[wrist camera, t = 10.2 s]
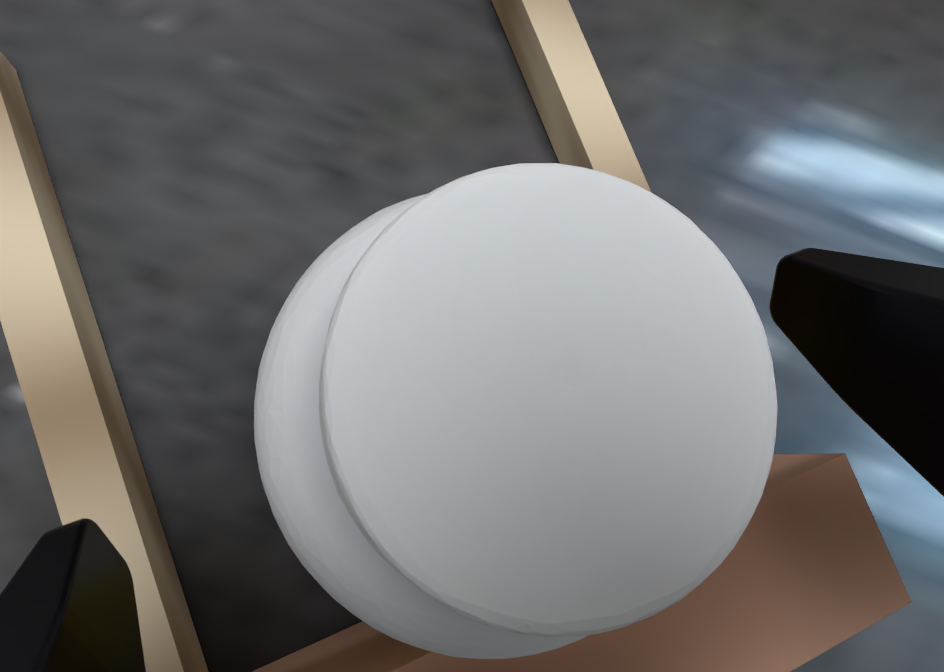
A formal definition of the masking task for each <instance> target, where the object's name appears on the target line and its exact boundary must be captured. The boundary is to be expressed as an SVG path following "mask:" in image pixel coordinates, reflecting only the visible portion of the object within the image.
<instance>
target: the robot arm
mask: <svg viewBox="0 0 944 672" xmlns="http://www.w3.org/2000/svg"><path fill="white" fill-rule="evenodd" d="M769 308H770V314H771V317H772V319H773V320H774V322H775V323H776V325H777V326H778V327H779V328H780V329H781V330H782V332H783V333H784V334H785V335H786V336H787V337H788V338H789V340H790V341H791V342H792V343H793V344H794V345H795V346H796V348H797V349H798V350H799V351H800V352H801V353H802V355H803V356H804V357H805V358H806V359H807V360H808V361H809V363H810V364H811V365H812V366H813V367H814V368H815V369H816V371H817V372H818V373H819V374H820V375H821V376H822V377H823V379H824V380H825V381H826V382H827V383H828V384H829V385H830V387H831V388H832V389H833V390H834V391H835V392H836V393H837V394H838V395H839V397H840V398H841V399H842V400H843V401H844V402H845V403H846V404H847V405H848V406H849V407H850V408H851V409H852V410H853V411H854V412H855V413H856V414H857V415H858V416H859V417H860V418H861V419H863V420H864V421H865V422H866V423H867V424H868V425H869V426H870V427H871V428H872V429H873V430H874V431H875V432H876V433H877V434H878V435H879V436H880V437H881V438H883V439H884V440H885V441H886V442H887V443H888V444H889V445H890V446H891V447H892V448H893V449H894V450H895V451H896V452H897V453H898V454H899V455H900V456H902V457H903V458H904V459H905V460H906V461H907V462H908V463H909V464H910V465H911V466H912V467H913V468H914V469H915V470H916V471H917V472H918V473H919V474H920V475H922V476H923V477H924V478H925V479H926V480H927V481H928V482H929V483H930V484H931V485H932V486H933V487H934V488H935V489H936V490H937V491H938V492H939V493H940V494H942V495H943V496H944V268H939V267H932V266H926V265H919V264H913V263H906V262H900V261H894V260H887V259H881V258H874V257H868V256H861V255H855V254H848V253H842V252H835V251H829V250H822V249H816V248H806V249H802V250H800V251H797V252H794V253H791V254H789V255H786V256H784V257H783V258H782V259H781V260H780V261H779V263H778V265H777V268H776V273H775V278H774V283H773V289H772V294H771V299H770V306H769ZM0 672H146V669H145V662H144V655H143V648H142V640H141V633H140V626H139V619H138V612H137V605H136V598H135V591H134V584H133V579H132V575H131V572H130V569H129V567H128V565H127V563H126V561H125V560H124V558H123V557H122V556H121V555H120V553H119V552H118V551H117V549H116V548H115V547H114V545H113V544H112V543H111V542H110V540H109V539H108V538H107V536H106V535H105V534H104V532H103V531H102V530H101V529H100V527H99V526H98V525H97V524H96V523H95V522H94V521H92V520H91V519H87V518H82V519H79V520H76V521H73V522H71V523H68V524H65V525H63V526H60V527H57V528H55V529H52V530H50V531H48V532H46V533H45V534H44V535H43V536H42V537H41V538H40V539H39V541H38V542H37V544H36V545H35V546H34V548H33V549H32V551H31V552H30V553H29V555H28V556H27V558H26V559H25V561H24V562H23V563H22V565H21V566H20V568H19V569H18V570H17V572H16V573H15V575H14V576H13V578H12V579H11V580H10V582H9V583H8V585H7V586H6V587H5V589H4V590H3V592H2V593H1V595H0Z"/></svg>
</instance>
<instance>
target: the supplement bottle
mask: <svg viewBox="0 0 944 672" xmlns="http://www.w3.org/2000/svg"><path fill="white" fill-rule="evenodd" d="M777 408H778V406H777V395H776V386H775V378H774V369H773V361H772V357H771V353H770V349H769V346H768V342H767V338H766V334H765V330H764V327H763V325H762V322H761V320H760V318H759V315H758V313H757V311H756V308H755V306H754V304H753V301H752V299H751V297H750V295H749V294H748V292H747V290H746V288H745V287H744V285H743V283H742V281H741V280H740V278H739V276H738V275H737V273H736V272H735V270H734V269H733V268H732V266H731V265H730V263H729V262H728V260H727V259H726V257H725V256H724V255H723V254H722V252H721V251H720V250H719V249H718V248H717V246H716V245H715V244H714V243H713V242H712V241H711V240H710V239H709V238H708V237H707V236H706V235H705V234H704V233H703V232H702V231H701V230H700V229H699V228H698V227H697V226H696V225H695V224H694V223H693V222H692V221H691V220H690V219H689V218H688V217H686V216H685V215H684V214H682V213H681V212H680V211H678V210H677V209H676V208H674V207H673V206H671V205H670V204H668V203H667V202H666V201H664V200H663V199H661V198H659V197H658V196H656V195H654V194H652V193H651V192H649V191H647V190H645V189H643V188H642V187H640V186H638V185H635V184H633V183H631V182H629V181H626V180H624V179H621V178H618V177H615V176H613V175H610V174H607V173H604V172H600V171H596V170H592V169H588V168H584V167H578V166H571V165H565V164H559V163H521V164H514V165H507V166H501V167H495V168H490V169H487V170H483V171H480V172H476V173H473V174H470V175H467V176H464V177H461V178H459V179H456V180H454V181H452V182H450V183H448V184H446V185H444V186H441V187H439V188H437V189H435V190H434V191H432V192H430V193H429V194H425V195H421V196H417V197H413V198H410V199H407V200H405V201H402V202H399V203H397V204H394V205H392V206H389V207H387V208H384V209H382V210H380V211H378V212H376V213H375V214H373V215H371V216H369V217H368V218H366V219H365V220H363V221H362V222H360V223H359V224H357V225H356V226H354V227H353V228H351V229H350V230H349V231H347V232H346V233H345V234H343V235H342V236H341V237H339V238H338V239H337V240H336V241H335V242H334V243H332V244H331V245H330V246H329V247H328V248H327V249H326V250H325V251H324V252H323V253H322V254H321V255H320V256H319V257H318V258H317V259H316V260H315V261H314V262H313V263H312V264H311V266H310V267H309V268H308V269H307V270H306V272H305V273H304V274H303V275H302V277H301V278H300V279H299V281H298V282H297V283H296V285H295V286H294V288H293V290H292V291H291V293H290V294H289V296H288V298H287V299H286V301H285V303H284V305H283V307H282V308H281V310H280V312H279V314H278V316H277V318H276V320H275V322H274V325H273V327H272V329H271V331H270V334H269V337H268V341H267V344H266V347H265V349H264V352H263V355H262V359H261V363H260V366H259V372H258V378H257V385H256V393H255V400H254V440H255V447H256V453H257V460H258V466H259V471H260V476H261V480H262V483H263V487H264V490H265V493H266V496H267V498H268V501H269V504H270V507H271V510H272V513H273V515H274V517H275V519H276V521H277V524H278V526H279V527H280V529H281V531H282V533H283V535H284V537H285V539H286V541H287V543H288V545H289V546H290V548H291V549H292V551H293V552H294V553H295V555H296V556H297V558H298V559H299V561H300V562H301V563H302V565H303V566H304V568H305V569H306V570H307V571H308V572H309V573H310V574H311V575H312V576H313V578H314V579H315V580H316V581H317V582H318V583H319V584H320V585H321V586H322V588H323V589H324V590H325V591H326V592H327V593H328V594H329V595H330V596H332V597H333V598H334V599H335V600H336V601H337V602H338V603H340V604H341V605H342V606H343V607H344V608H346V609H347V610H348V611H349V612H351V613H352V614H353V615H355V616H356V617H358V618H359V619H360V620H362V621H363V622H365V623H366V624H368V625H369V626H371V627H372V628H374V629H376V630H378V631H380V632H382V633H384V634H386V635H388V636H390V637H391V638H393V639H396V640H398V641H401V642H403V643H406V644H408V645H411V646H414V647H417V648H420V649H424V650H427V651H431V652H435V653H439V654H443V655H447V656H452V657H460V658H472V659H506V658H515V657H523V656H529V655H535V654H538V653H542V652H546V651H550V650H554V649H557V648H560V647H562V646H565V645H568V644H570V643H573V642H576V641H578V640H581V639H583V638H585V637H586V636H588V635H593V634H600V633H603V632H607V631H611V630H615V629H619V628H623V627H625V626H628V625H631V624H633V623H636V622H639V621H641V620H644V619H646V618H648V617H650V616H653V615H655V614H657V613H658V612H660V611H662V610H664V609H666V608H667V607H669V606H671V605H673V604H675V603H676V602H678V601H680V600H681V599H683V598H684V597H685V596H686V595H688V594H689V593H690V592H691V591H693V590H694V589H695V588H696V587H697V586H699V585H700V584H701V583H702V582H703V581H704V580H705V579H706V578H707V577H708V576H709V575H710V574H711V573H712V572H713V571H714V570H715V569H716V568H717V567H718V566H719V565H720V564H721V563H722V562H723V561H724V559H725V558H726V557H727V556H728V554H729V553H730V552H731V551H732V549H733V548H734V547H735V545H736V544H737V542H738V540H739V539H740V537H741V535H742V534H743V532H744V530H745V529H746V527H747V525H748V524H749V522H750V520H751V518H752V516H753V514H754V512H755V509H756V507H757V505H758V503H759V501H760V499H761V497H762V494H763V491H764V488H765V484H766V481H767V478H768V475H769V471H770V467H771V464H772V459H773V453H774V446H775V439H776V426H777Z"/></svg>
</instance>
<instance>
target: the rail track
mask: <svg viewBox="0 0 944 672" xmlns="http://www.w3.org/2000/svg"><path fill="white" fill-rule="evenodd" d="M492 3H493V5H494V8H495V10H496V12H497V15H498V17H499V20H500V22H501V24H502V27H503V29H504V32H505V34H506V36H507V39H508V41H509V44H510V46H511V48H512V51H513V53H514V56H515V58H516V60H517V63H518V65H519V67H520V70H521V72H522V75H523V77H524V79H525V82H526V84H527V87H528V89H529V91H530V94H531V96H532V99H533V101H534V103H535V106H536V108H537V111H538V113H539V115H540V118H541V120H542V123H543V125H544V127H545V130H546V132H547V135H548V137H549V139H550V142H551V144H552V147H553V149H554V151H555V154H556V156H557V159H558V161H559V163H560V164H565V165H571V166H578V167H584V168H588V169H592V170H596V171H600V172H604V173H607V174H610V175H613V176H615V177H618V178H621V179H624V180H626V181H629V182H631V183H633V184H635V185H638V186H640V187H642V188H643V189H645V190H647V191H649V192H651V191H650V188H649V186H648V184H647V182H646V179H645V177H644V175H643V172H642V170H641V168H640V165H639V163H638V161H637V158H636V156H635V154H634V151H633V149H632V147H631V145H630V142H629V140H628V138H627V135H626V133H625V131H624V128H623V126H622V124H621V121H620V119H619V117H618V114H617V112H616V110H615V108H614V105H613V103H612V101H611V98H610V96H609V94H608V91H607V89H606V87H605V84H604V82H603V80H602V77H601V75H600V73H599V71H598V68H597V66H596V64H595V61H594V59H593V57H592V54H591V52H590V50H589V47H588V45H587V43H586V40H585V38H584V36H583V34H582V31H581V29H580V27H579V24H578V22H577V20H576V17H575V15H574V13H573V10H572V8H571V6H570V3H569V1H568V0H492ZM0 320H1V324H2V327H3V330H4V334H5V337H6V340H7V344H8V347H9V350H10V353H11V357H12V360H13V363H14V367H15V370H16V373H17V377H18V380H19V383H20V386H21V390H22V393H23V396H24V400H25V403H26V406H27V410H28V413H29V416H30V420H31V423H32V426H33V429H34V433H35V436H36V439H37V443H38V446H39V449H40V453H41V456H42V459H43V463H44V466H45V469H46V472H47V476H48V479H49V482H50V486H51V489H52V492H53V496H54V499H55V502H56V505H57V509H58V512H59V515H60V519H61V522H62V525H65V524H68V523H71V522H73V521H76V520H79V519H82V518H87V519H91V520H92V521H94V522H95V523H96V524H97V525H98V526H99V527H100V529H101V530H102V531H103V532H104V534H105V535H106V536H107V538H108V539H109V540H110V542H111V543H112V544H113V545H114V547H115V548H116V549H117V551H118V552H119V553H120V555H121V556H122V557H123V558H124V560H125V561H126V563H127V565H128V567H129V569H130V572H131V575H132V579H133V584H134V591H135V598H136V605H137V612H138V619H139V626H140V633H141V640H142V648H143V655H144V662H145V669H146V672H209V671H208V668H207V665H206V662H205V659H204V656H203V653H202V650H201V646H200V643H199V640H198V637H197V634H196V631H195V628H194V625H193V621H192V618H191V615H190V612H189V609H188V606H187V603H186V600H185V596H184V593H183V590H182V587H181V584H180V581H179V578H178V575H177V571H176V568H175V565H174V562H173V559H172V556H171V553H170V550H169V547H168V543H167V540H166V537H165V534H164V531H163V528H162V525H161V522H160V518H159V515H158V512H157V509H156V506H155V503H154V500H153V497H152V493H151V490H150V487H149V484H148V481H147V478H146V475H145V472H144V468H143V465H142V462H141V459H140V456H139V453H138V450H137V447H136V443H135V440H134V437H133V434H132V431H131V428H130V425H129V422H128V418H127V415H126V412H125V409H124V406H123V403H122V400H121V397H120V393H119V390H118V387H117V384H116V381H115V378H114V375H113V372H112V368H111V365H110V362H109V359H108V356H107V353H106V350H105V347H104V343H103V340H102V337H101V334H100V331H99V328H98V325H97V322H96V318H95V315H94V312H93V309H92V306H91V303H90V300H89V297H88V294H87V290H86V287H85V284H84V281H83V278H82V275H81V272H80V269H79V265H78V262H77V259H76V256H75V253H74V250H73V247H72V244H71V240H70V237H69V234H68V231H67V228H66V225H65V222H64V219H63V215H62V212H61V209H60V206H59V203H58V200H57V197H56V194H55V190H54V187H53V184H52V181H51V178H50V175H49V172H48V169H47V165H46V162H45V159H44V156H43V153H42V150H41V147H40V144H39V140H38V137H37V134H36V131H35V128H34V125H33V122H32V119H31V115H30V112H29V109H28V106H27V103H26V100H25V97H24V94H23V90H22V87H21V84H20V81H19V78H18V75H17V72H16V69H15V68H14V67H13V66H12V65H11V63H10V62H9V61H8V60H7V59H6V57H5V56H4V55H3V54H2V53H1V52H0ZM909 603H911V600H910V598H909V595H908V593H907V591H906V589H905V586H904V584H903V582H902V580H901V578H900V575H899V573H898V571H897V569H896V566H895V564H894V562H893V560H892V557H891V555H890V553H889V551H888V548H887V546H886V544H885V542H884V539H883V537H882V535H881V533H880V531H879V528H878V526H877V524H876V522H875V519H874V517H873V515H872V513H871V510H870V508H869V506H868V504H867V501H866V499H865V497H864V495H863V492H862V490H861V488H860V486H859V484H858V481H857V479H856V477H855V475H854V472H853V470H852V468H851V466H850V463H849V461H848V459H847V457H846V454H845V453H836V454H773V459H772V464H771V467H770V471H769V475H768V478H767V481H766V484H765V488H764V491H763V494H762V497H761V499H760V501H759V503H758V505H757V507H756V509H755V512H754V514H753V516H752V518H751V520H750V522H749V524H748V525H747V527H746V529H745V530H744V532H743V534H742V535H741V537H740V539H739V540H738V542H737V544H736V545H735V547H734V548H733V549H732V551H731V552H730V553H729V554H728V556H727V557H726V558H725V559H724V561H723V562H722V563H721V564H720V565H719V566H718V567H717V568H716V569H715V570H714V571H713V572H712V573H711V574H710V575H709V576H708V577H707V578H706V579H705V580H704V581H703V582H702V583H701V584H700V585H699V586H697V587H696V588H695V589H694V590H693V591H691V592H690V593H689V594H688V595H686V596H685V597H684V598H683V599H681V600H680V601H678V602H676V603H675V604H673V605H671V606H669V607H667V608H666V609H664V610H662V611H660V612H658V613H657V614H655V615H653V616H650V617H648V618H646V619H644V620H641V621H639V622H636V623H633V624H631V625H628V626H625V627H623V628H619V629H615V630H611V631H607V632H603V633H600V634H593V635H588V636H586V637H585V638H583V639H581V640H578V641H576V642H573V643H570V644H568V645H565V646H562V647H560V648H557V649H554V650H550V651H546V652H542V653H538V654H535V655H529V656H523V657H515V658H506V659H472V658H460V657H452V656H447V655H443V654H439V653H435V652H431V651H427V650H424V649H420V648H417V647H414V646H411V645H408V644H406V643H403V642H401V641H398V640H396V639H393V638H391V637H390V636H388V635H386V634H384V633H382V632H380V631H378V630H376V629H374V628H372V627H371V626H369V625H368V624H366V623H365V622H363V621H362V622H360V623H358V624H355V625H353V626H351V627H349V628H347V629H344V630H342V631H340V632H338V633H336V634H333V635H331V636H329V637H327V638H325V639H322V640H320V641H318V642H316V643H314V644H311V645H309V646H307V647H305V648H303V649H300V650H298V651H296V652H294V653H292V654H289V655H287V656H285V657H283V658H281V659H278V660H276V661H274V662H272V663H270V664H267V665H265V666H263V667H261V668H259V669H256V670H254V671H252V672H790V671H792V670H794V669H796V668H797V667H799V666H801V665H803V664H804V663H806V662H808V661H810V660H811V659H813V658H815V657H817V656H818V655H820V654H822V653H824V652H825V651H827V650H829V649H831V648H832V647H834V646H836V645H838V644H839V643H841V642H843V641H845V640H846V639H848V638H850V637H852V636H853V635H855V634H857V633H859V632H860V631H862V630H864V629H865V628H867V627H869V626H871V625H872V624H874V623H876V622H878V621H879V620H881V619H883V618H885V617H886V616H888V615H890V614H892V613H893V612H895V611H897V610H899V609H900V608H902V607H904V606H906V605H907V604H909Z"/></svg>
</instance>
